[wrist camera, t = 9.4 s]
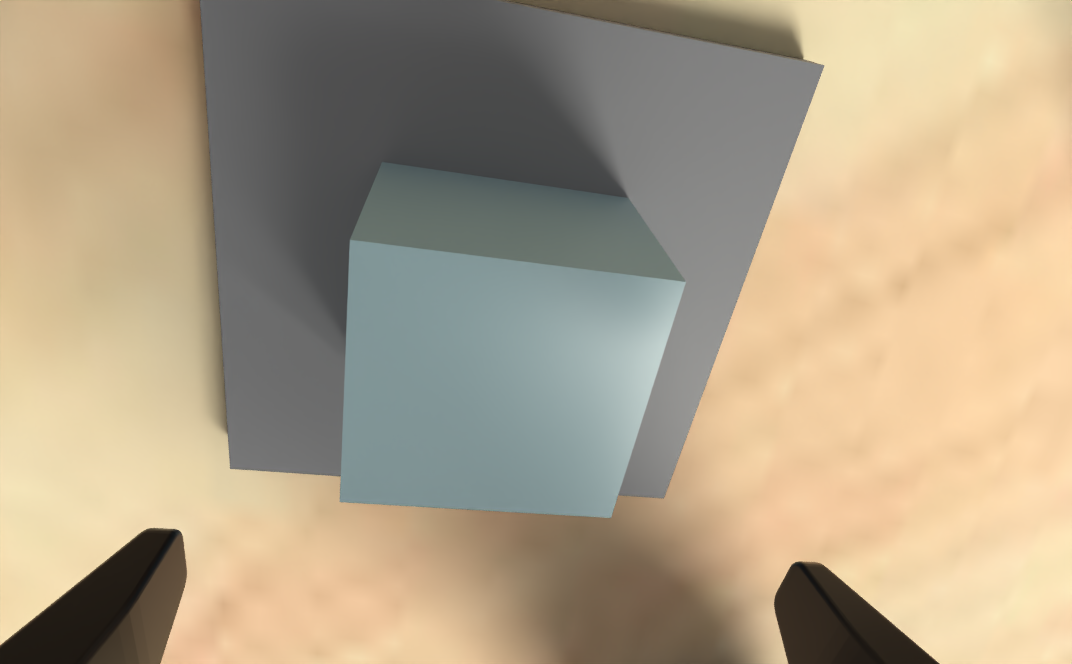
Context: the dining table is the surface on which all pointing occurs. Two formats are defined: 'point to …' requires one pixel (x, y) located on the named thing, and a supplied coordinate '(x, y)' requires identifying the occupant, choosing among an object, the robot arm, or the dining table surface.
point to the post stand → (475, 149)
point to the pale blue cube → (498, 344)
